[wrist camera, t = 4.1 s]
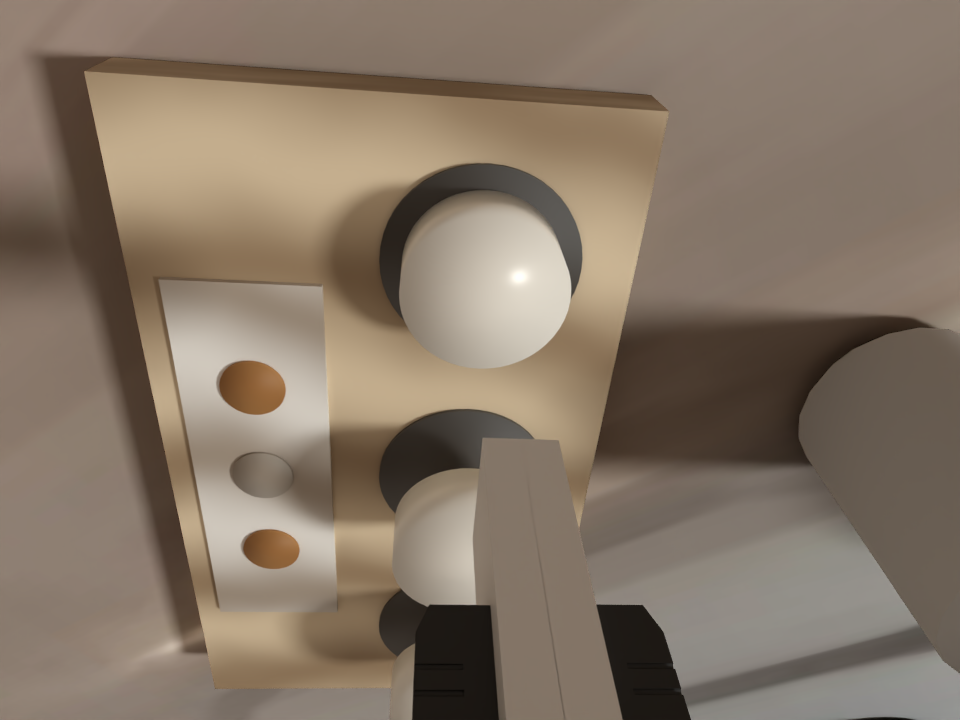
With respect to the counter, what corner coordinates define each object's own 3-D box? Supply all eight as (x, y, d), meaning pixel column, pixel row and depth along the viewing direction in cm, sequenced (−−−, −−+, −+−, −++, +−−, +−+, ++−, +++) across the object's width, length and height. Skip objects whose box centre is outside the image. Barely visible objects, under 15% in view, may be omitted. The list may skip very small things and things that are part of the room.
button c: (549, 338, 24) (558, 371, 22) (400, 332, 23) (397, 365, 22) (571, 195, 21) (583, 220, 19) (403, 185, 21) (400, 210, 19)
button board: (539, 651, 37) (545, 693, 35) (225, 651, 36) (213, 695, 34) (651, 95, 22) (672, 114, 20) (112, 57, 20) (78, 73, 18)
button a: (503, 704, 32) (507, 749, 30) (391, 705, 31) (389, 750, 30) (515, 634, 29) (520, 679, 27) (392, 634, 29) (390, 680, 27)
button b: (526, 568, 27) (532, 613, 25) (394, 567, 26) (391, 612, 25) (542, 469, 24) (550, 512, 22) (395, 466, 24) (392, 509, 22)
